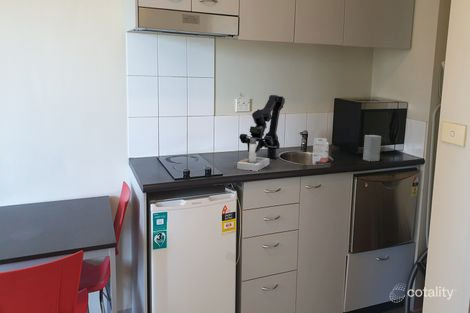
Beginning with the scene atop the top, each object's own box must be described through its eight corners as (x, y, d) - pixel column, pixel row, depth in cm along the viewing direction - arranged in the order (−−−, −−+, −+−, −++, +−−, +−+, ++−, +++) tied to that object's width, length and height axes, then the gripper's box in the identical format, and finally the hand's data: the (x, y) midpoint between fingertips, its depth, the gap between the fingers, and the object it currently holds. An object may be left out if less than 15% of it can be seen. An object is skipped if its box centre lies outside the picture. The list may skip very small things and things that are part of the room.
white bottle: (248, 164, 241) (248, 137, 238) (254, 163, 242) (255, 137, 239) (249, 165, 237) (250, 139, 234) (256, 165, 238) (257, 138, 235)
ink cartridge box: (327, 161, 263) (329, 137, 260) (325, 162, 259) (327, 138, 256) (314, 159, 267) (316, 136, 264) (312, 160, 263) (313, 137, 260)
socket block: (250, 161, 255) (250, 155, 255) (269, 164, 251) (269, 157, 250) (236, 168, 238) (237, 161, 237) (257, 171, 233) (257, 164, 232)
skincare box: (369, 161, 264) (371, 136, 261) (361, 159, 271) (363, 134, 267) (380, 161, 268) (382, 136, 264) (372, 158, 274) (374, 134, 271)
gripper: (240, 119, 241) (232, 141, 234) (272, 122, 234) (264, 145, 227) (245, 131, 250) (237, 153, 243) (276, 134, 243) (269, 156, 235)
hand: (251, 151), depth 237 cm, fingers closed on white bottle, 4 cm apart
